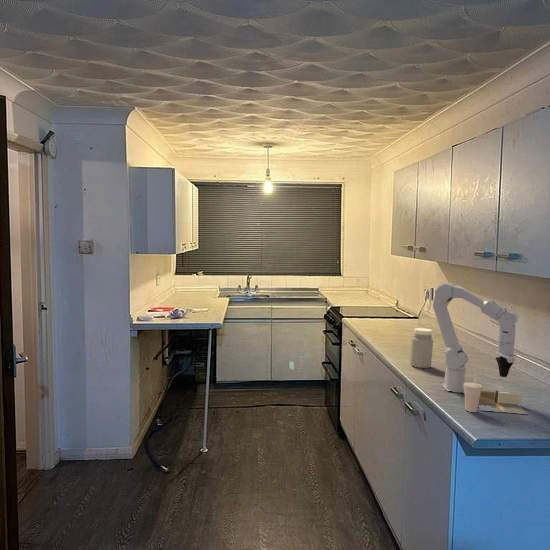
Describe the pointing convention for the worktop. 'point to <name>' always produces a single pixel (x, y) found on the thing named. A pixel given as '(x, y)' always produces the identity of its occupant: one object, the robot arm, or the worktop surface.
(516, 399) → the fence panel
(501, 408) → the mat
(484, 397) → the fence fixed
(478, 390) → the smoothie
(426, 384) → the worktop surface
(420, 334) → the jar
